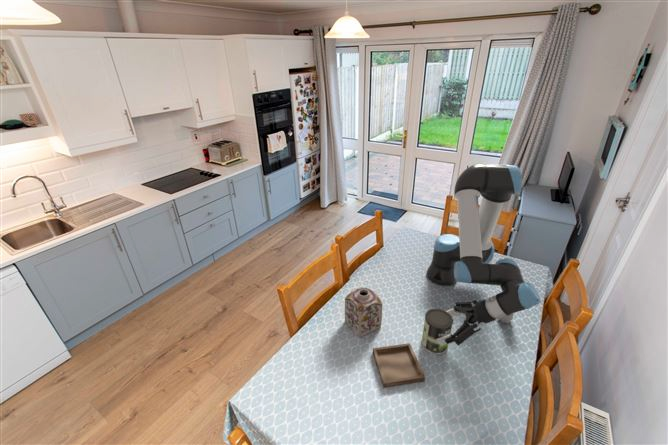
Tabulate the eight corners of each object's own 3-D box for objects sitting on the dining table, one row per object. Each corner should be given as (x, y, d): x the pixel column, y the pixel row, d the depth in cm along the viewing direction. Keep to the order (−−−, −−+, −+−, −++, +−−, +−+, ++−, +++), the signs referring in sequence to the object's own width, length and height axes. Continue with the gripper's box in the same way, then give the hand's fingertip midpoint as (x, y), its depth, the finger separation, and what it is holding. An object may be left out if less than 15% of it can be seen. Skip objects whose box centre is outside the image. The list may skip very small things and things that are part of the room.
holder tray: (372, 352, 122) (372, 348, 120) (409, 347, 123) (409, 343, 122) (383, 387, 108) (383, 383, 107) (424, 381, 110) (425, 377, 109)
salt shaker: (513, 325, 132) (520, 302, 126) (498, 324, 133) (505, 300, 127) (509, 315, 137) (516, 293, 131) (495, 314, 138) (501, 291, 132)
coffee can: (453, 347, 123) (459, 321, 116) (433, 358, 119) (438, 332, 112) (434, 330, 131) (439, 304, 124) (415, 339, 127) (419, 314, 120)
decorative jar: (381, 327, 133) (384, 295, 124) (359, 339, 128) (360, 306, 119) (365, 310, 142) (366, 279, 133) (344, 320, 137) (343, 288, 128)
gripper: (482, 280, 118) (436, 301, 130) (485, 327, 98) (430, 347, 109) (495, 294, 119) (448, 313, 131) (500, 344, 98) (443, 361, 110)
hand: (439, 329), depth 120 cm, fingers open, 13 cm apart
